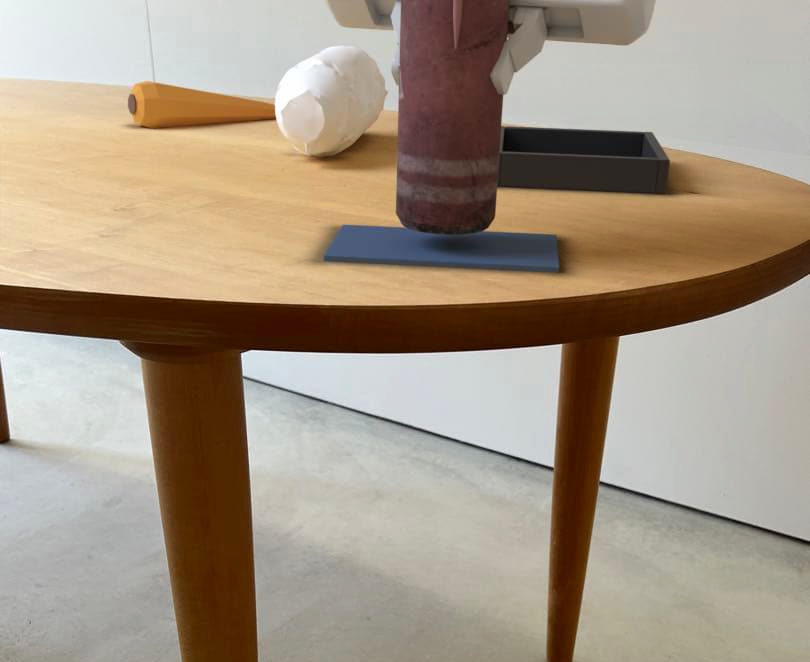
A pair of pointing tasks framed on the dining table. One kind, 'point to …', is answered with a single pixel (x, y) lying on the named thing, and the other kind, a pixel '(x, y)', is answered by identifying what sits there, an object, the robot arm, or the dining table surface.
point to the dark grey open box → (582, 160)
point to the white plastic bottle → (329, 100)
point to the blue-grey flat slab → (445, 249)
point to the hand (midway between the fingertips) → (447, 83)
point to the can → (449, 114)
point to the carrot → (190, 106)
